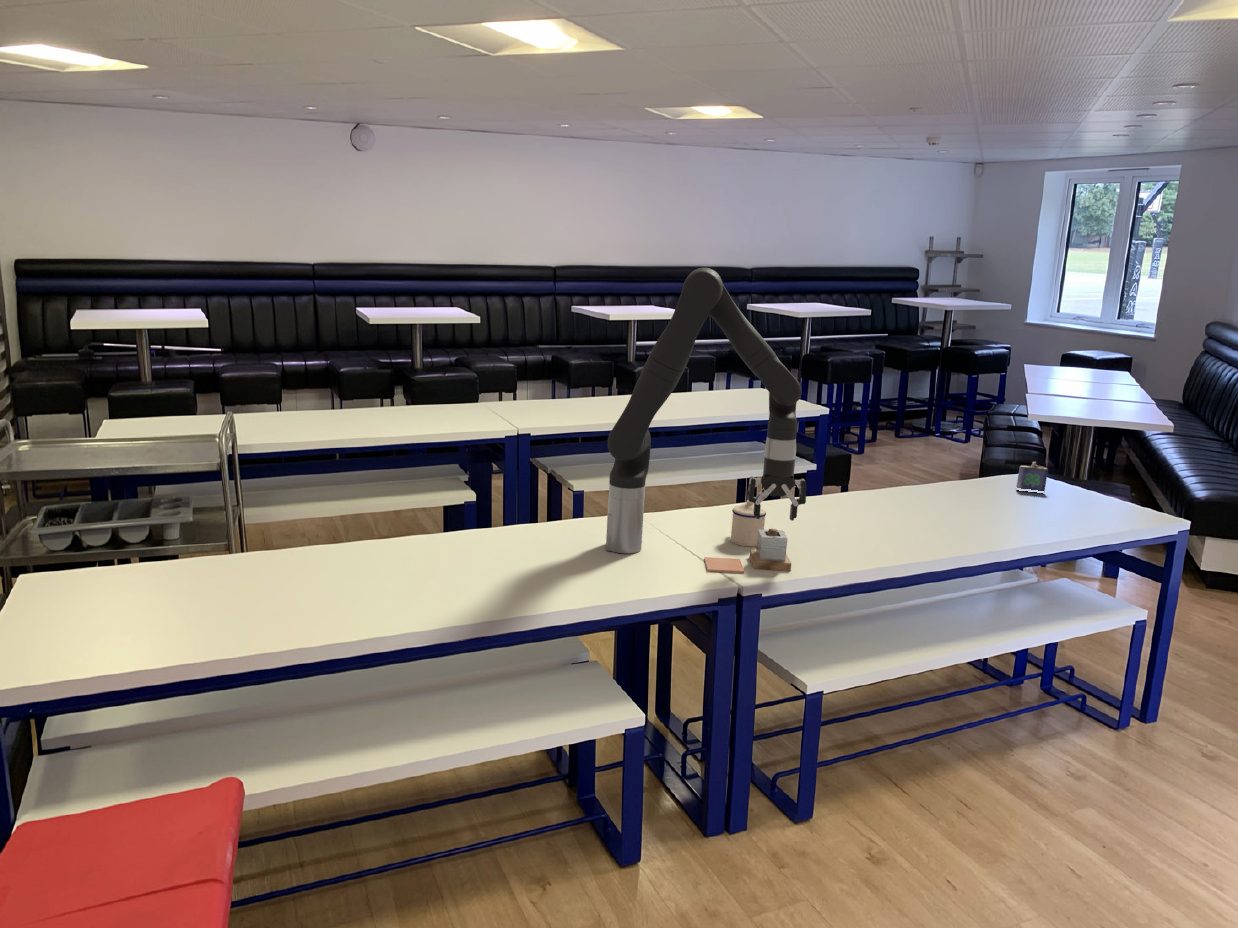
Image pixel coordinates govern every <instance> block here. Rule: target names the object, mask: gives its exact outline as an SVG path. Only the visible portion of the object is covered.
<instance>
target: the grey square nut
mask: <svg viewBox="0 0 1238 928" xmlns="http://www.w3.org/2000/svg"><path fill="white" fill-rule="evenodd" d="M768 530H769V529H764V530H762V529H758V535H757V546H755V547H756V548H755V550H756V553H757V555H758V557H759V560H769V561H785V559H786V554H787V549H788V547H787V546H788V536H787V535H786V533H785V531H784V530H783V529H782V530H778V529H776V530H777V536H768Z"/></svg>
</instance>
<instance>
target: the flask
mask: <svg viewBox="0 0 1238 928" xmlns="http://www.w3.org/2000/svg"><path fill="white" fill-rule="evenodd" d="M1031 463H1032V464H1031V465H1020V466H1019V469H1018V475H1017V480H1016V481H1017V482H1016V487H1017V488H1021V489H1031V490H1038V491H1044V492H1045V491H1046V490H1045V489H1046V484H1047V478H1048V472H1049V469H1048V468H1047V467H1045V466H1042V465H1038V464H1037V461H1032V462H1031Z"/></svg>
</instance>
